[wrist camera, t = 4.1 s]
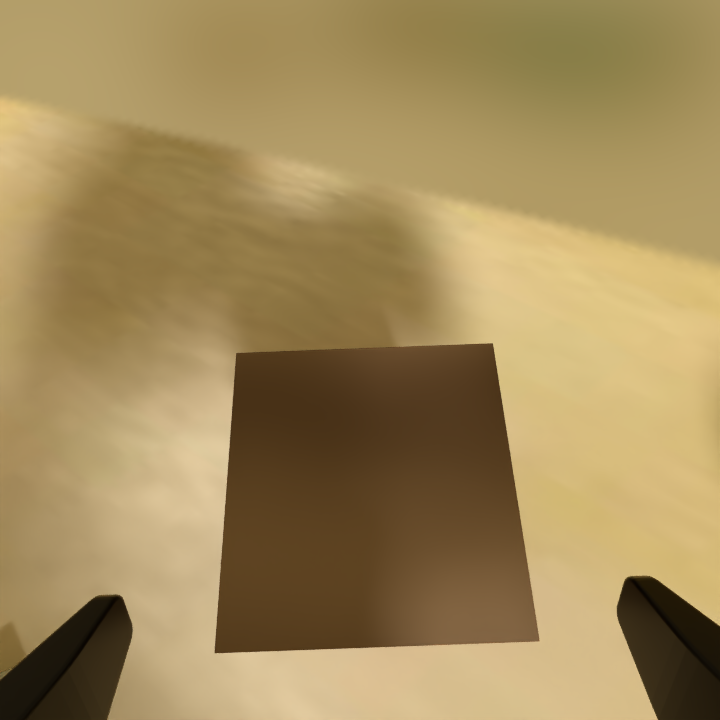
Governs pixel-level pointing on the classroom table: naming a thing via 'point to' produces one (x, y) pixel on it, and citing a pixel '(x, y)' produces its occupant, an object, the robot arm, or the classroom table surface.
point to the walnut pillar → (371, 503)
